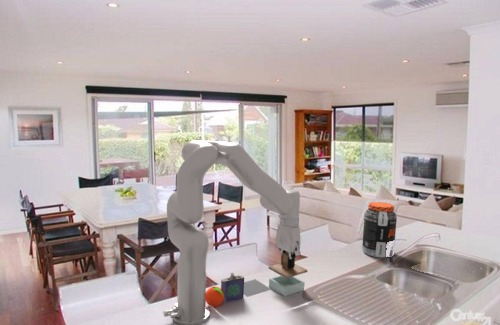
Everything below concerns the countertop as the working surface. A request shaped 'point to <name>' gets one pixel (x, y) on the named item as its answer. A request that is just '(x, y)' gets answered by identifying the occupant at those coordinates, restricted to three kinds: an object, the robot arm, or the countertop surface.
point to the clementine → (214, 296)
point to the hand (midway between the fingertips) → (287, 265)
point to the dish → (286, 285)
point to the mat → (254, 287)
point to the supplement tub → (378, 228)
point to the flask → (232, 288)
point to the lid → (284, 269)
